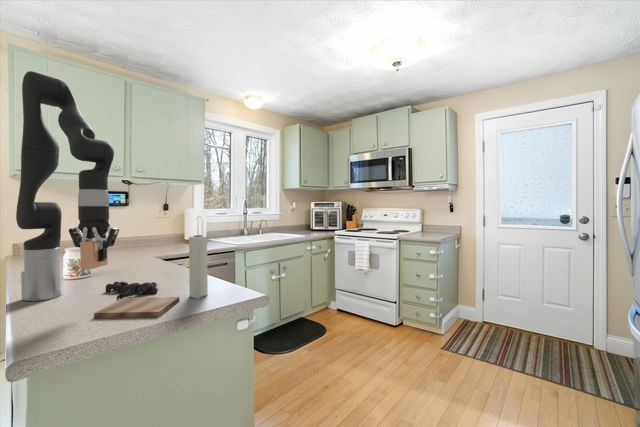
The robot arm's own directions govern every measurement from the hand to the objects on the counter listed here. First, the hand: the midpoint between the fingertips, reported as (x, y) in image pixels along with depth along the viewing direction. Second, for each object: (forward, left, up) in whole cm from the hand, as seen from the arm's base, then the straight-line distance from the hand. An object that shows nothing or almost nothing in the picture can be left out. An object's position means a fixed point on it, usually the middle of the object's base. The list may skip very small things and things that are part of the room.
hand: (94, 260), depth 91 cm
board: (+13, 0, -15) cm, 20 cm away
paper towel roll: (+26, +13, -15) cm, 33 cm away
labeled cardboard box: (0, 0, -2) cm, 2 cm away
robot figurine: (+1, +19, -16) cm, 25 cm away
